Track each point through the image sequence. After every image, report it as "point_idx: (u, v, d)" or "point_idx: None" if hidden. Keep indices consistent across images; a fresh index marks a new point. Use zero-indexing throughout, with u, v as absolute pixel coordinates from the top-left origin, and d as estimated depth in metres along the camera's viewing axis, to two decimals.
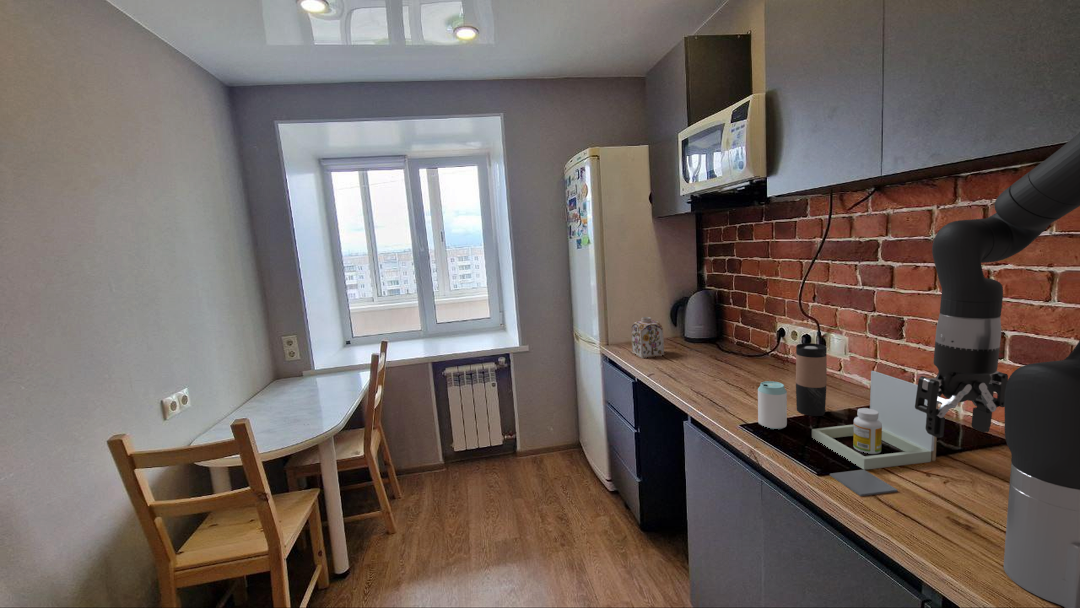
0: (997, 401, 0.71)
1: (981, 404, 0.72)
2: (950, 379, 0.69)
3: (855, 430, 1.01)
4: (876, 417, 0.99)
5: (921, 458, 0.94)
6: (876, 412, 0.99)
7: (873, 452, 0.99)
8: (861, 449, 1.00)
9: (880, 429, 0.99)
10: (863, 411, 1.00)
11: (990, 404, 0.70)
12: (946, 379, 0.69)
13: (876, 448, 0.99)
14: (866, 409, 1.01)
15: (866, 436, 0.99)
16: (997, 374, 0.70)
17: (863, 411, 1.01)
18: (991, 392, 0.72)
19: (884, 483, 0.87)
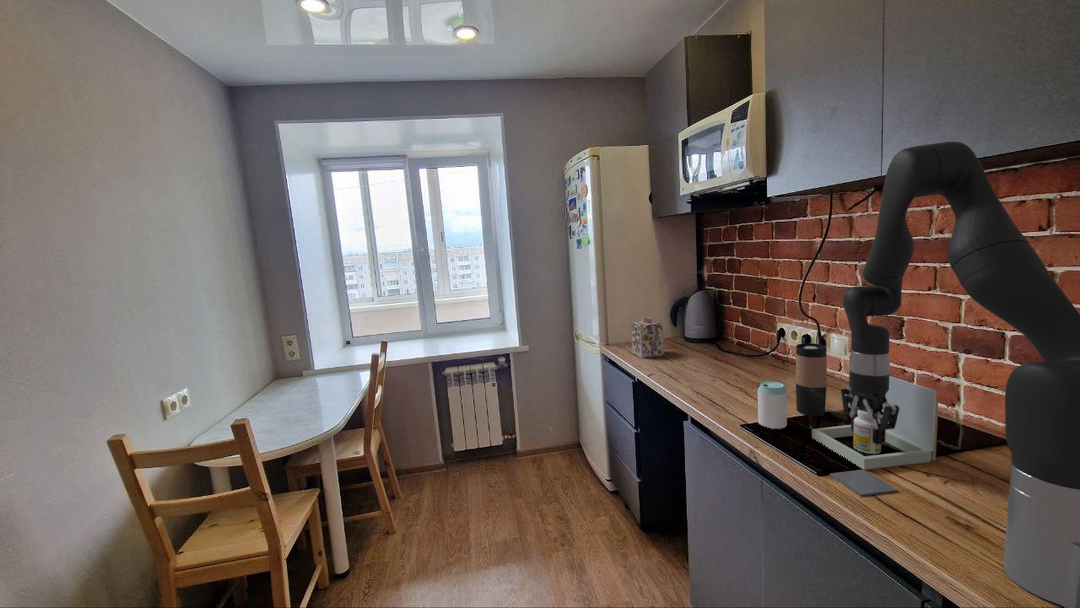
0: None
1: (857, 414, 1.04)
2: None
3: (855, 430, 1.01)
4: None
5: (921, 458, 0.94)
6: None
7: (873, 452, 0.99)
8: (861, 449, 1.00)
9: None
10: (863, 411, 1.00)
11: None
12: (886, 400, 0.96)
13: (876, 447, 0.99)
14: None
15: (866, 436, 0.99)
16: (850, 389, 1.06)
17: (863, 411, 1.01)
18: None
19: (884, 483, 0.87)
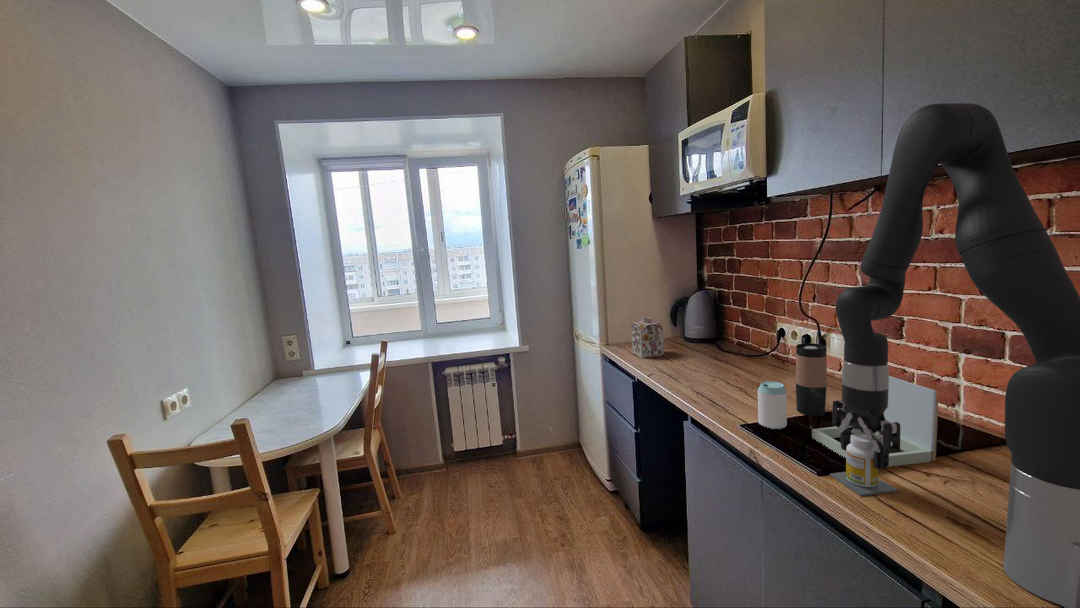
0: None
1: (847, 429, 0.91)
2: None
3: (848, 459, 0.88)
4: (872, 445, 0.85)
5: (921, 458, 0.94)
6: None
7: (869, 486, 0.86)
8: (855, 481, 0.87)
9: None
10: (857, 438, 0.87)
11: (853, 426, 0.91)
12: (884, 418, 0.83)
13: (872, 480, 0.86)
14: (860, 435, 0.88)
15: (860, 467, 0.86)
16: None
17: (856, 437, 0.87)
18: None
19: (884, 483, 0.87)
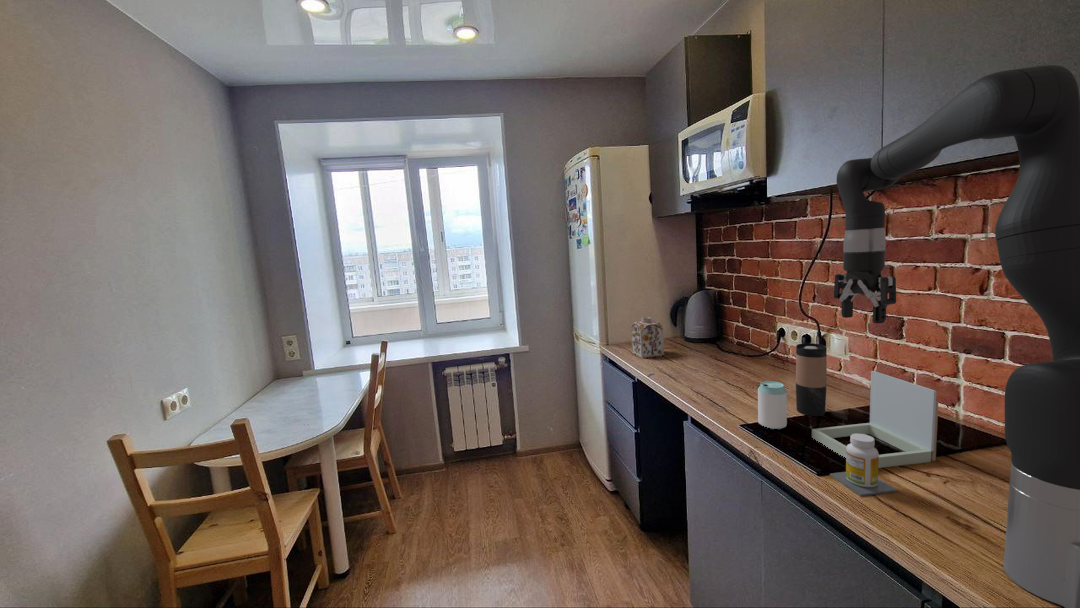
0: None
1: (847, 298, 1.00)
2: None
3: (848, 459, 0.88)
4: (872, 445, 0.85)
5: (921, 458, 0.94)
6: (872, 439, 0.86)
7: (869, 485, 0.86)
8: (854, 481, 0.87)
9: (876, 459, 0.85)
10: (857, 437, 0.87)
11: None
12: (881, 276, 0.92)
13: (872, 480, 0.86)
14: (860, 435, 0.88)
15: (860, 467, 0.86)
16: (845, 275, 1.01)
17: (856, 437, 0.87)
18: None
19: (884, 483, 0.87)
